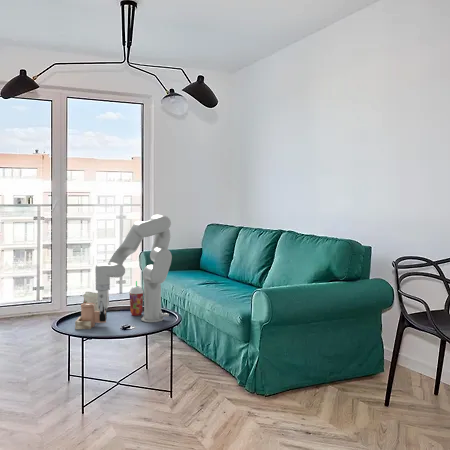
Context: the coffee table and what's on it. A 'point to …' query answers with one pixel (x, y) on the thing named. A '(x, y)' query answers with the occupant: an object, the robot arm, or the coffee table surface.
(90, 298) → the pitcher
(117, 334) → the coffee table surface
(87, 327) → the holder
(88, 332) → the coffee table surface
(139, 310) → the smoothie
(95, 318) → the peach cylinder
